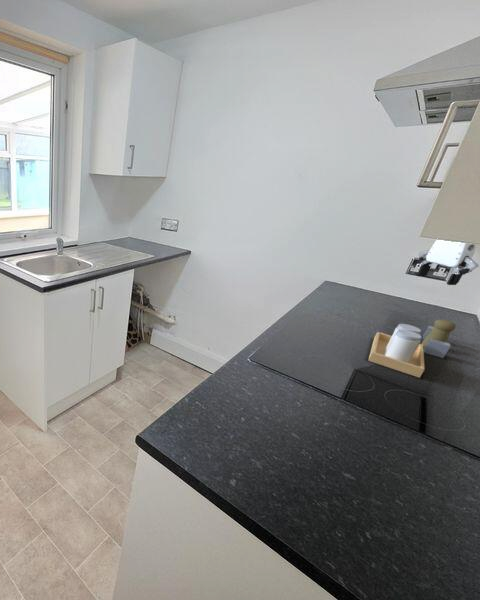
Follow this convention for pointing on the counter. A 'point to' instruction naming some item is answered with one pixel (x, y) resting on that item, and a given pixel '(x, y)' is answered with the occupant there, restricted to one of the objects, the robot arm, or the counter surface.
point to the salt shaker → (403, 345)
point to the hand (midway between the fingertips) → (435, 280)
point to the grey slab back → (427, 331)
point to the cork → (440, 331)
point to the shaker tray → (412, 368)
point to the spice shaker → (403, 327)
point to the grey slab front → (436, 348)
